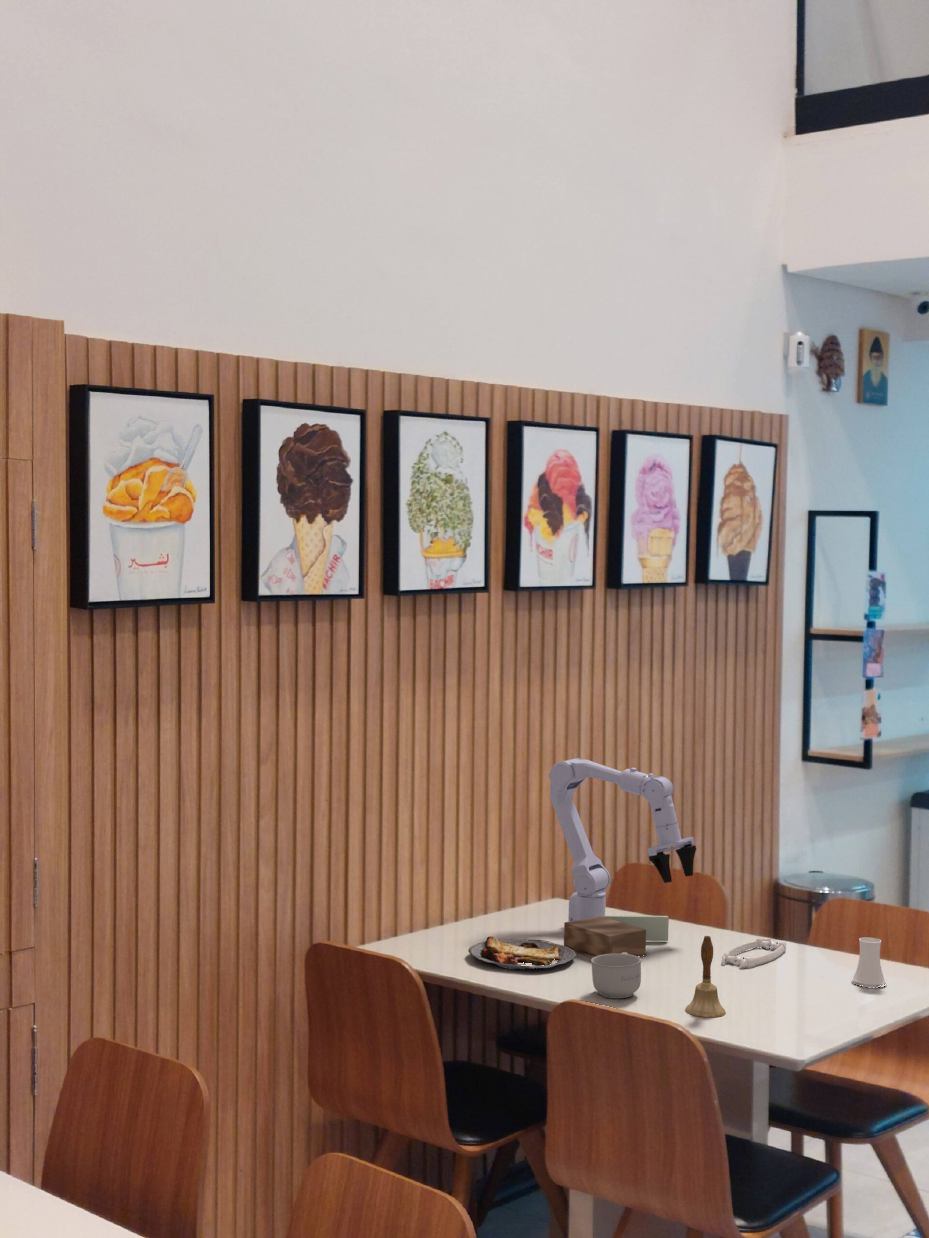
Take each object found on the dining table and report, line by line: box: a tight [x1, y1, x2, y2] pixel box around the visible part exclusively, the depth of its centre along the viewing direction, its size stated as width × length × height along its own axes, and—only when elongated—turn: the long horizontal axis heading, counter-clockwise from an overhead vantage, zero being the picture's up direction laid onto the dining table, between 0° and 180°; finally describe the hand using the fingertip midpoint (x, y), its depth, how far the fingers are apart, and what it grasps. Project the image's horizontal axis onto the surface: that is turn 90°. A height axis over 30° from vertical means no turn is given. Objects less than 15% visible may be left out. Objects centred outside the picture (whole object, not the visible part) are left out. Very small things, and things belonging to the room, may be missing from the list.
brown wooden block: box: [563, 916, 647, 959], centre depth 346 cm, size 16×12×6 cm
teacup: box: [590, 952, 642, 999], centre depth 312 cm, size 14×11×8 cm
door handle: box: [721, 937, 787, 970], centre depth 345 cm, size 3×10×25 cm
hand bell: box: [685, 935, 726, 1019], centre depth 300 cm, size 8×8×16 cm
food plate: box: [468, 935, 577, 970], centre depth 338 cm, size 25×23×4 cm
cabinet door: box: [604, 914, 670, 942], centre depth 358 cm, size 17×2×6 cm, turn 92°
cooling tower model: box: [851, 936, 887, 989], centre depth 324 cm, size 8×8×10 cm
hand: (678, 879), depth 356 cm, fingers open, 7 cm apart
